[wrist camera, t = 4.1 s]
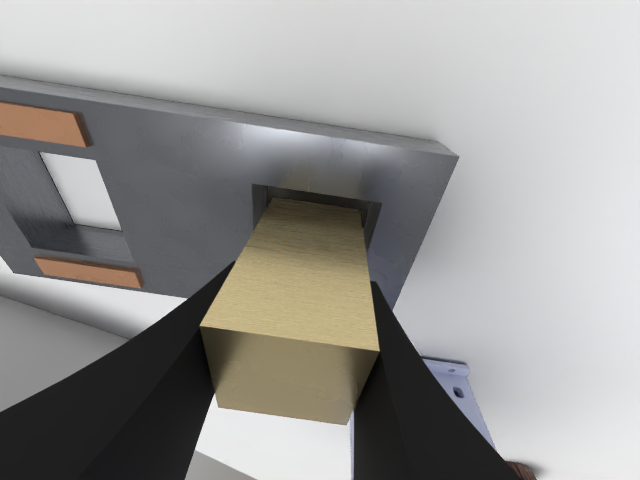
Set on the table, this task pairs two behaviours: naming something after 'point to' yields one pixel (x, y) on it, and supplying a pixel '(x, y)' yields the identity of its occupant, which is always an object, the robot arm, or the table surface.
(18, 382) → the grey rounded block
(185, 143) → the rail plate
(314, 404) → the brass peg
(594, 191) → the table surface
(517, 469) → the cupcake
